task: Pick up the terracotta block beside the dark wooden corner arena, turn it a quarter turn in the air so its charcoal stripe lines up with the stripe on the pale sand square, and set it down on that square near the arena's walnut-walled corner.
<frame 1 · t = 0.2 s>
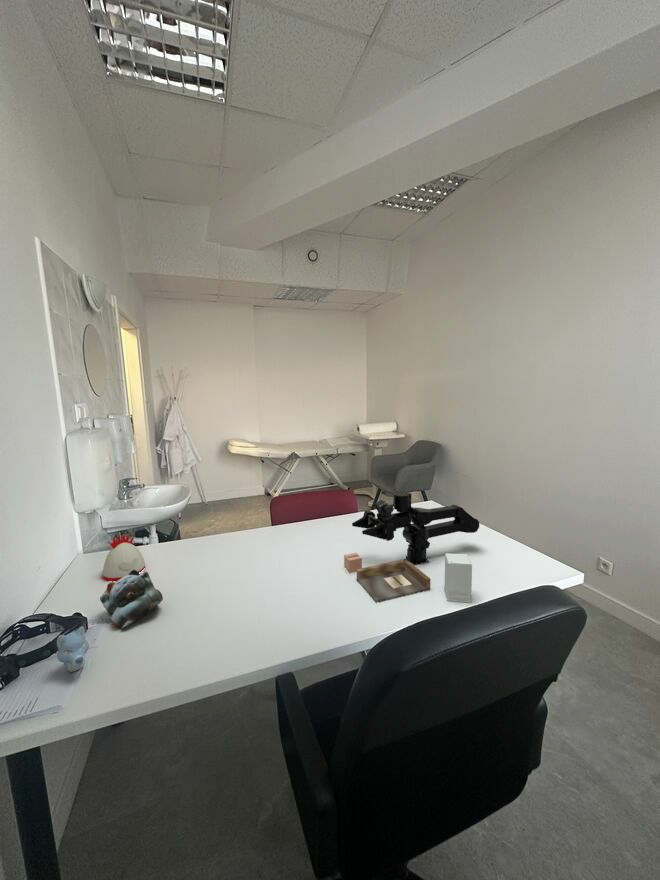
hand: (357, 528, 130), 17 cm above the table, tool horizontal, fingers open, 9 cm apart
kitchen timer: (124, 573, 136), on the table
arena: (392, 584, 122), on the table
terracotta block: (352, 569, 134), on the table
lucky cat figurine: (133, 616, 108), on the table
wolf head: (77, 672, 87), on the table
supplement box: (457, 596, 115), on the table
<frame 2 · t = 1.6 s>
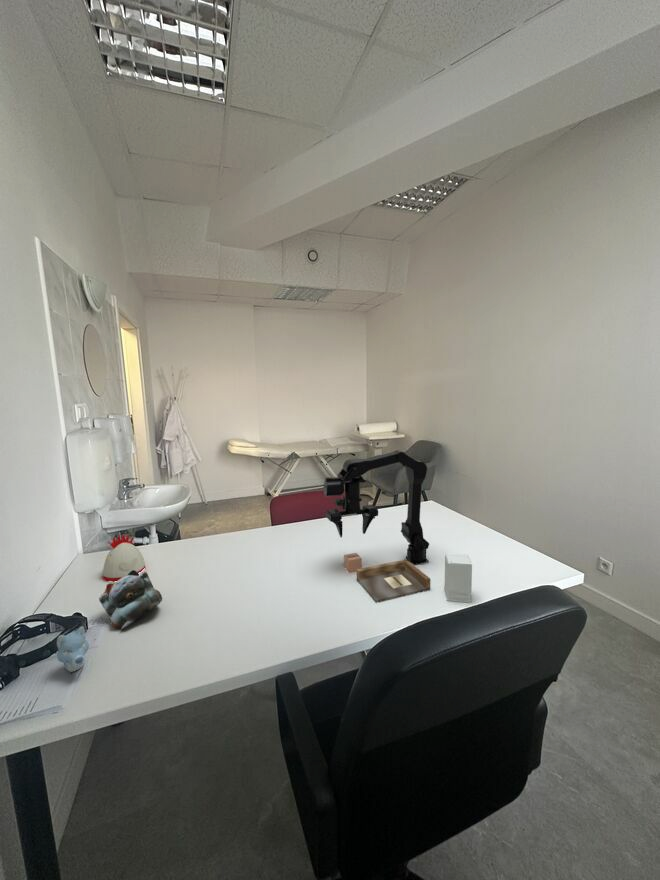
hand: (352, 535, 133), 13 cm above the table, tool pointing down, fingers open, 9 cm apart
nothing on the table moved.
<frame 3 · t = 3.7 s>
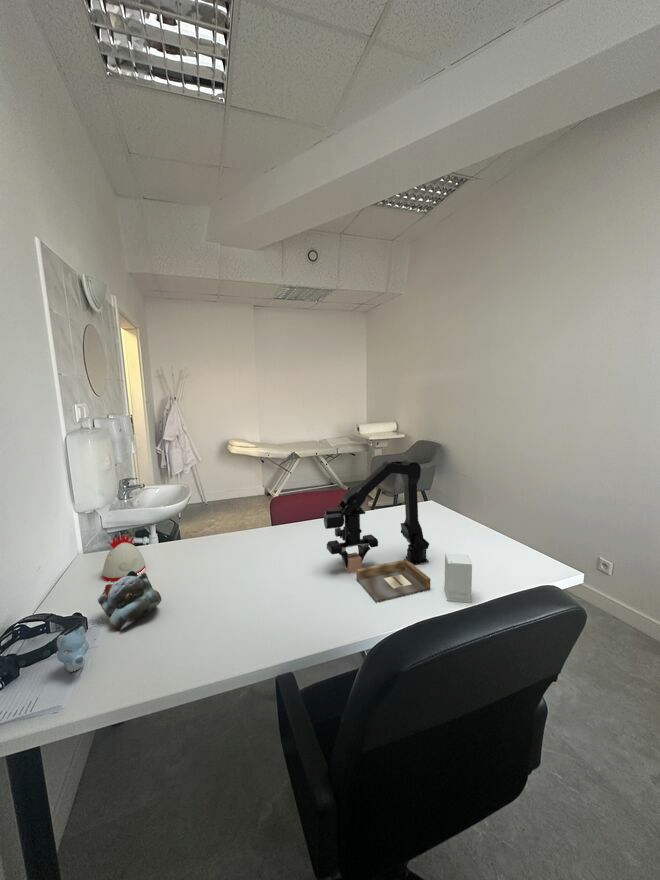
hand: (352, 565, 134), 1 cm above the table, tool pointing down, fingers closed on terracotta block, 5 cm apart
terracotta block: (352, 568, 134), on the table, touching gripper
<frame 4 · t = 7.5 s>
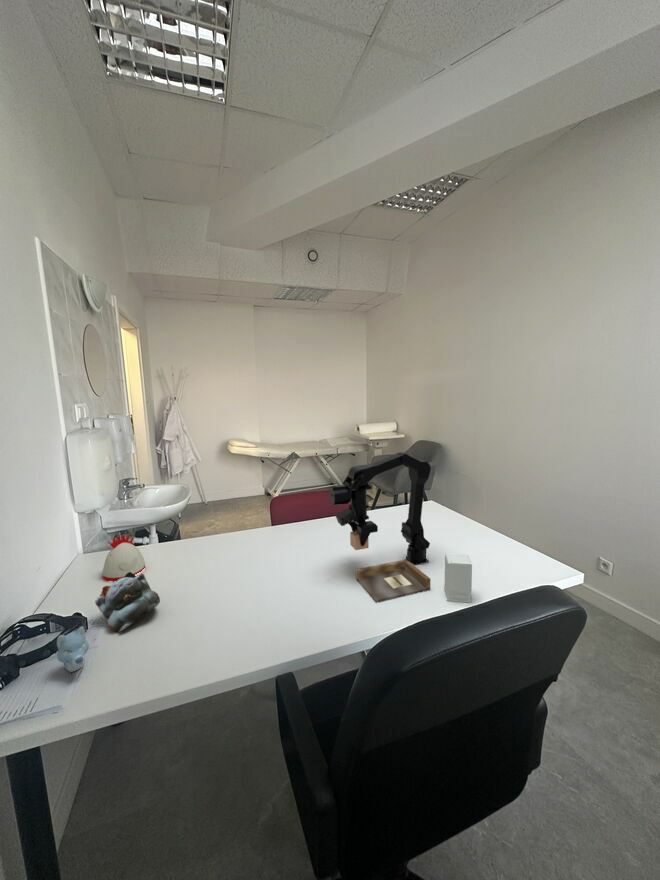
hand: (359, 543, 131), 11 cm above the table, tool pointing down, fingers closed on terracotta block, 5 cm apart
terracotta block: (359, 546, 131), point 10 cm above the table, touching gripper
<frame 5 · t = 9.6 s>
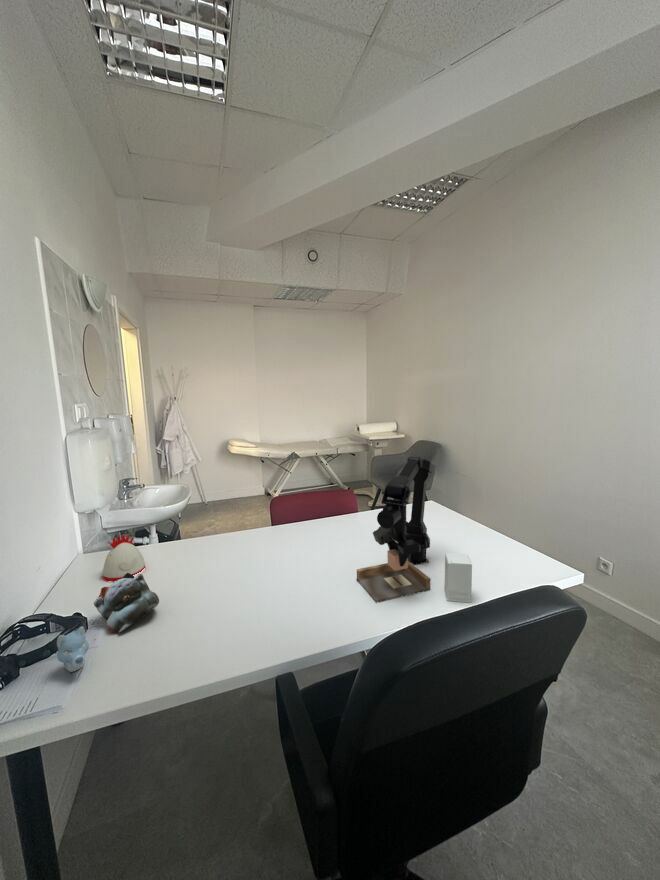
hand: (397, 562, 122), 8 cm above the table, tool pointing down, fingers closed on terracotta block, 5 cm apart
terracotta block: (397, 566, 122), point 6 cm above the table, touching gripper
when the fingers open (3 cm above the table, at t = 11.3 s): terracotta block stays where it is, resting on arena.
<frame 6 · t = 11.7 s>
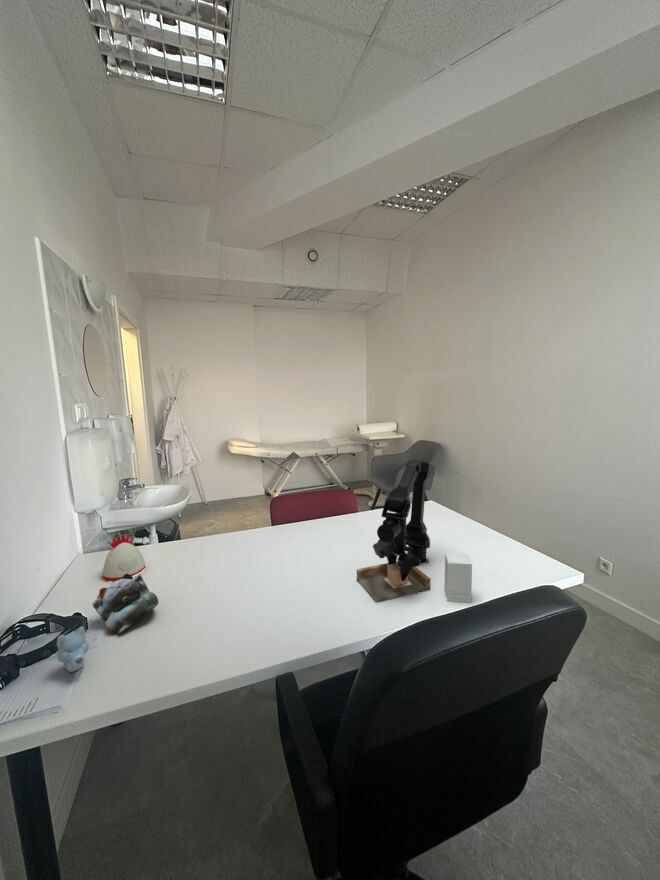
hand: (397, 575, 123), 3 cm above the table, tool pointing down, fingers open, 7 cm apart
terracotta block: (397, 580, 123), point 1 cm above the table, touching arena
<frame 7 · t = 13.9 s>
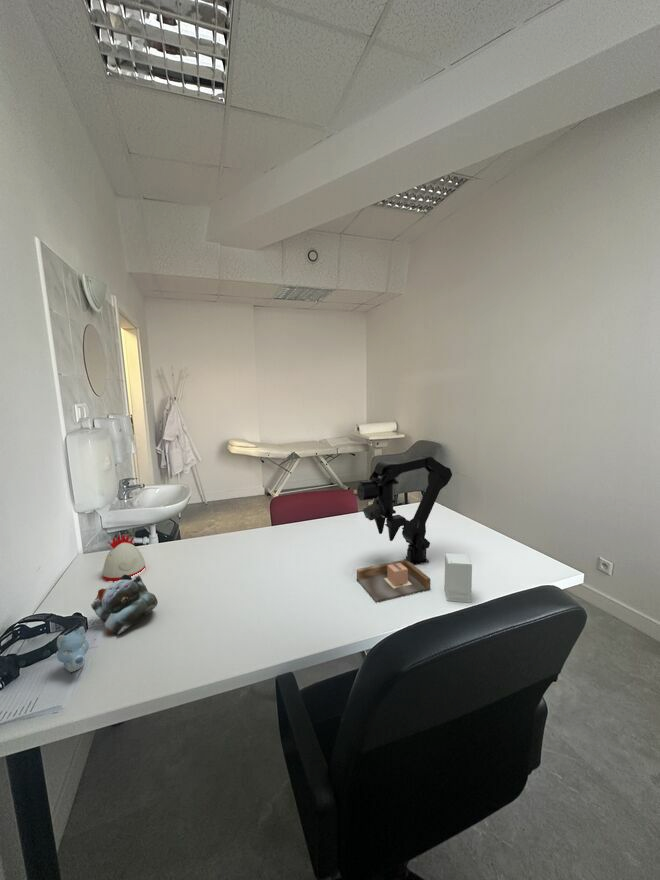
hand: (385, 537, 133), 12 cm above the table, tool pointing down, fingers open, 7 cm apart
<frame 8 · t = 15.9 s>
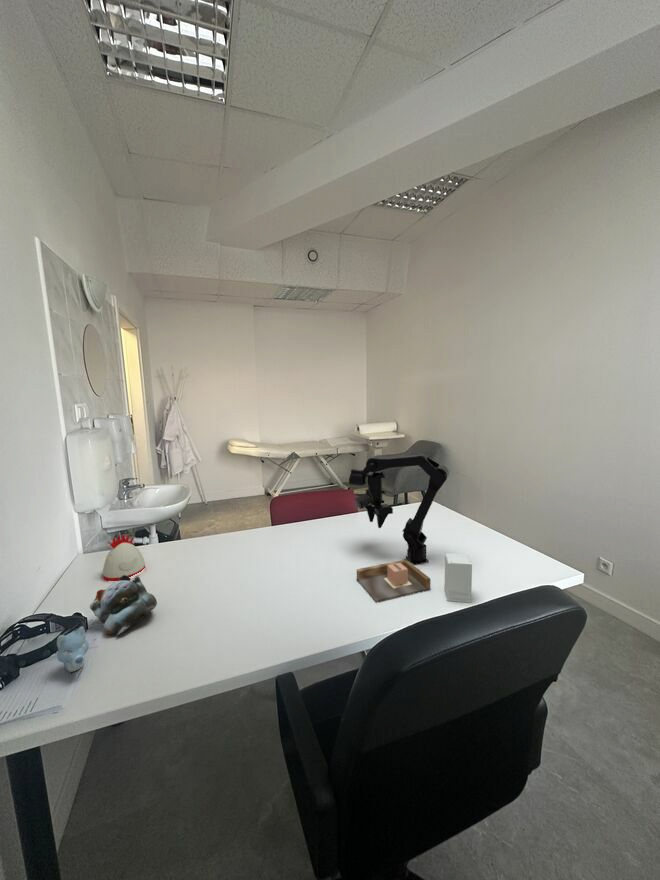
hand: (375, 524, 146), 12 cm above the table, tool pointing down, fingers open, 7 cm apart
at the end: terracotta block 0.0 cm from the target spot on the arena, point 1.0 cm above the arena's base; terracotta block tilted 0°; the gripper is holding nothing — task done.
